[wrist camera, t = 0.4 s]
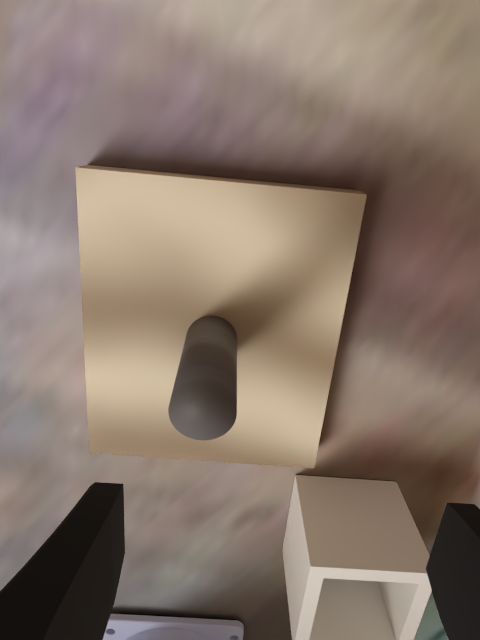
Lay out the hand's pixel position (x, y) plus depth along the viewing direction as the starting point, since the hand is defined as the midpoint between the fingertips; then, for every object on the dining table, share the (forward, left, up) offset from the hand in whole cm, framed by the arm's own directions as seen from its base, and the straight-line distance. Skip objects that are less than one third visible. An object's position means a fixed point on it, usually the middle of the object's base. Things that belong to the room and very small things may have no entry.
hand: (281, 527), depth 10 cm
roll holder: (0, +2, -10) cm, 10 cm away
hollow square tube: (-10, -5, -10) cm, 15 cm away
